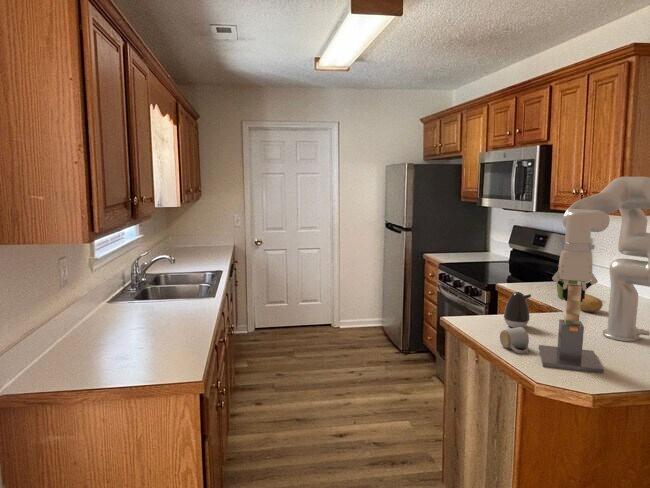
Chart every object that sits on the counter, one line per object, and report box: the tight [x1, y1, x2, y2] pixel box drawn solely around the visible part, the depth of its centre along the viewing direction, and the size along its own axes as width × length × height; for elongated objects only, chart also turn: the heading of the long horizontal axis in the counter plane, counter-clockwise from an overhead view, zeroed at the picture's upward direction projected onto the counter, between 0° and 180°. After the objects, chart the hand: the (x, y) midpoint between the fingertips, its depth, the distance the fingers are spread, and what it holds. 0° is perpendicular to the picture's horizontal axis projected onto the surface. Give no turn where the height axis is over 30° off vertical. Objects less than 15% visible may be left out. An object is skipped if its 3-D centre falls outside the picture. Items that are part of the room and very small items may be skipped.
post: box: [563, 283, 582, 326], centre depth 166 cm, size 4×4×19 cm
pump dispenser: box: [503, 291, 532, 328], centre depth 205 cm, size 10×10×15 cm
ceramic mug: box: [499, 327, 530, 355], centre depth 179 cm, size 11×8×8 cm
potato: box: [580, 293, 604, 313], centre depth 229 cm, size 10×14×8 cm
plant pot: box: [555, 277, 579, 300], centre depth 254 cm, size 12×12×11 cm
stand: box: [538, 319, 604, 374], centre depth 167 cm, size 18×18×14 cm
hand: (573, 299), depth 165 cm, fingers closed on post, 4 cm apart
